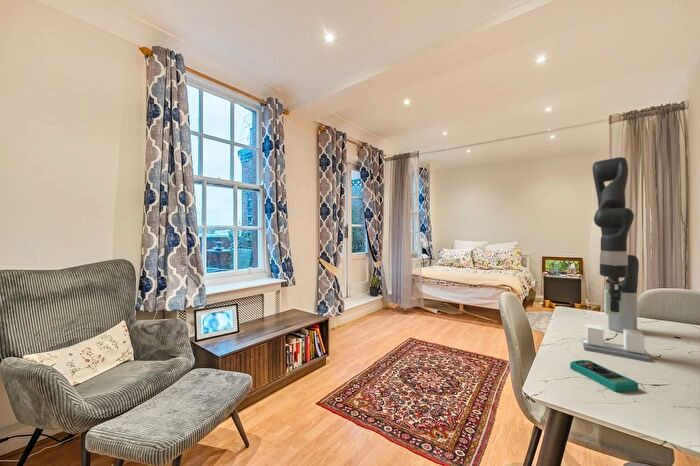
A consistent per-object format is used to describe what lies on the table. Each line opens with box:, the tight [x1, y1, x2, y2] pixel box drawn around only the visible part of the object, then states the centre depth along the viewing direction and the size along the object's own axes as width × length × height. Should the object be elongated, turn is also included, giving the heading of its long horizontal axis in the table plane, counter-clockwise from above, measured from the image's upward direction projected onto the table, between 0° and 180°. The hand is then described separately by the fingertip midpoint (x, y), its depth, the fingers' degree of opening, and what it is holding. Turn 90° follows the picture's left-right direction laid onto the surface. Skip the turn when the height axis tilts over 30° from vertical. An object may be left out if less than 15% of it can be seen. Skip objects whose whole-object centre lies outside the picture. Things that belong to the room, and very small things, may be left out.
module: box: [603, 288, 623, 316], centre depth 105 cm, size 6×4×8 cm
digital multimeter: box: [569, 359, 639, 393], centre depth 85 cm, size 7×15×3 cm, turn 8°
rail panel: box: [582, 323, 651, 363], centre depth 105 cm, size 10×17×8 cm, turn 54°
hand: (613, 309), depth 105 cm, fingers closed on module, 5 cm apart
